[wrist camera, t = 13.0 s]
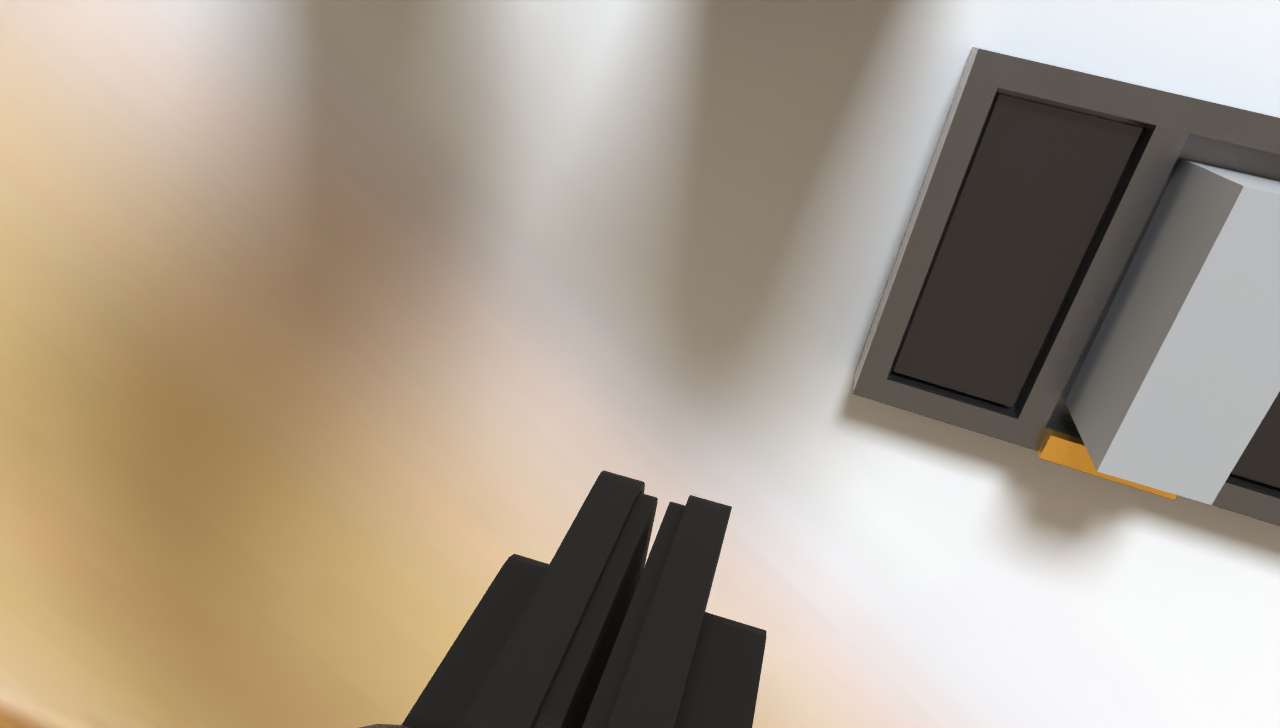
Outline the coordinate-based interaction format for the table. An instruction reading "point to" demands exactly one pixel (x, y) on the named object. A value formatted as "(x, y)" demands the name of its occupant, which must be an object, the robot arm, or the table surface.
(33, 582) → the table surface
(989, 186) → the rack
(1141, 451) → the rectangular block
